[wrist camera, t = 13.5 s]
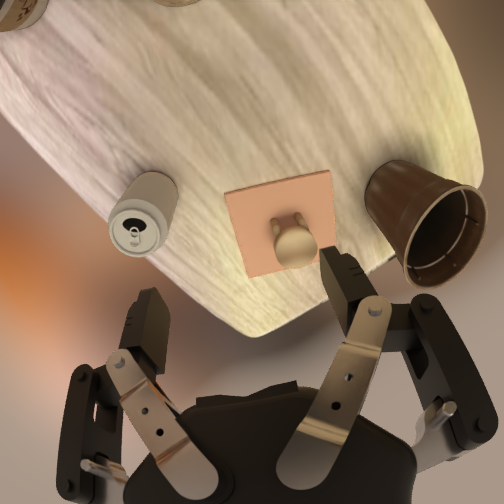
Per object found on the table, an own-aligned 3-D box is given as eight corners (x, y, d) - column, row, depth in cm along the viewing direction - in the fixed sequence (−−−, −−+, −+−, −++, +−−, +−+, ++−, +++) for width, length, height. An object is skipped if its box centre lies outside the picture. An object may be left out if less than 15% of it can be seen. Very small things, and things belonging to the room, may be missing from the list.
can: (180, 171, 37) (165, 207, 28) (177, 217, 42) (166, 265, 32) (130, 169, 36) (100, 204, 26) (131, 214, 40) (107, 260, 30)
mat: (224, 193, 40) (224, 195, 40) (328, 170, 40) (330, 171, 39) (248, 275, 49) (248, 278, 49) (335, 254, 49) (336, 256, 48)
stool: (265, 216, 42) (272, 239, 37) (303, 207, 42) (315, 228, 37) (272, 248, 46) (279, 273, 40) (307, 239, 45) (319, 263, 40)
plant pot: (410, 129, 36) (480, 162, 23) (437, 199, 44) (491, 245, 31) (336, 184, 41) (387, 239, 28) (376, 247, 49) (418, 306, 36)
